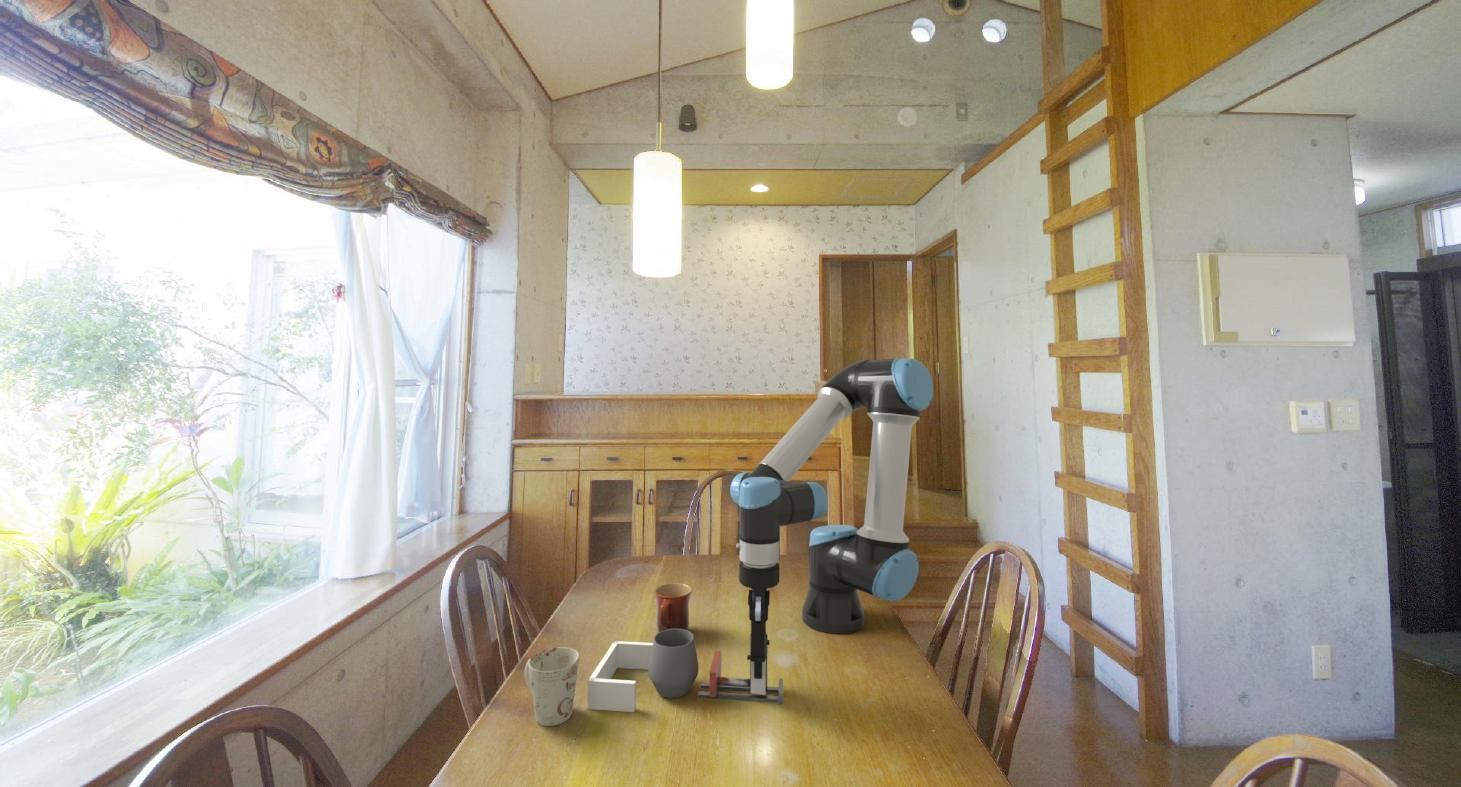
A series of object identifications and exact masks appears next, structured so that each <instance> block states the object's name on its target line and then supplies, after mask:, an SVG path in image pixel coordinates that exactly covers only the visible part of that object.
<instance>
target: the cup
mask: <svg viewBox="0 0 1461 787" xmlns="http://www.w3.org/2000/svg"><path fill="white" fill-rule="evenodd" d="M652 643H653V648H652V654H651V659H650V665H649V670H648V677H649V678H650V681H651V683H652V685H653V686H654V688H655V690H656V692H657V693H658V694H659V695H660V696H661V697H664V698H668V699H675V698H680V697H684V696H685V695H687V694H688V693H689V692H690V690H691V689H692V688H693V687H692V686H693V685H694V683H695V681H696V679H697V677H698V675H699V660H698V655H697V654H698V653H697V647H696V642H695V636H694V634H693V633H692V632H691V631H689V630H688V631H687V630H684V629H667V630H664V631H661V632H659V633H658V632H657V633H656V635H654V637H653V642H652Z"/></svg>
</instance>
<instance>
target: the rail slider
mask: <svg viewBox="0 0 1461 787" xmlns="http://www.w3.org/2000/svg"><path fill="white" fill-rule="evenodd" d="M749 636H750V639H749V640H750V641H749V642H750V643H749V644H750V646H749V653H750V654H749V655H751V633H750V635H749ZM768 638H769V637H768V634H767V632H766V633H765V655H766V691H767V686H768V645H767V640H769V639H768ZM710 666H711V667H710V669H709V683H710V686H709V689H708V690H709V691H708V692H709V697H716V695H717V693H718V691H719V690H718V686H719V685H722V686H738V687H750V690H751V660H749V678H748V677H747V678H746V677H745V678H744V677H743V678H742V677H725V676H721V675H722V651H721V650H715V651H714V655H713V657H712V661H711V665H710Z"/></svg>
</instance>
